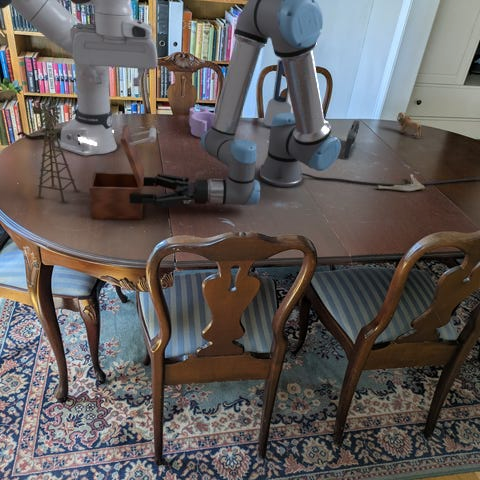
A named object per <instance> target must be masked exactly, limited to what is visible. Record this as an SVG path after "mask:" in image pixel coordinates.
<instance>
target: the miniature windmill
mask: <svg viewBox="0 0 480 480" xmlns="http://www.w3.org/2000/svg"><path fill="white" fill-rule="evenodd" d="M55 98H56V97H55V96H53V95H51V96H50V95H48V98H47V97H45V101H43V104H44V105H41V106H42V107H38V106H35V105H31V107H32V114H33V115H41V119H42V121H41V122H42V124H43V126H44V128H43V129H41V130H39V133H43V134H44V135H45V137H44V138H42V140H43V146H42V148H43V150H42V154H41V157H42V158H41V162H40V164H41V166H40V175H39V177H38V179H39V184H38V185H37V187H38V196H37V197H38V198H41V197H42V188H44V189H49V190H55V191H59V193H60V198H61V202H62V203H63V202H65V197H64V192H63V191H64V190H65V189H66V188H67V187H68V186H70V185H72V187H73V190H74V191H75V192H77V191H78V189H77V186H76V183H75V181H76V180H75V179H74V178H73V176H72V175H73V174H72V173H71V169H70V167H69V166H70V164H69V163H68V161H67V159H66V156H65V154H64V150H63V149H62V148H61V146H60V143H59V140H58V139H59V138H57V135H56V133H58V132H59V131H61V130H62V129H61V127H59V128H58V127H57V128H56V126H57V124H58V123H59V121H58V120H60V116H59V115H60V113H61V111H58V110H60V106H59V102H57V101H58V99H57V98H56V99H55ZM58 106H59V107H58ZM52 134H54V136H53V137H52ZM47 136H48V137H47ZM47 138H49V139H47ZM52 138H53V139H52ZM56 141H57V143H58V146H59V147H58V149H56V148H55V142H56ZM47 146H49V150H46V149H47ZM56 152H58V154H56ZM59 156H61V157H62V159H63V162H58V160H57V158H58V157H59ZM46 157H47V158H46ZM53 159H54V161H53ZM48 160H50V161H49V162H50V163H48V164H47V165H45V162H47V161H48ZM54 164H55V170H54ZM59 165H60V166H61V165H62V166H64V167H62V168H61V169H60V170H59ZM49 166H50V169H46V168H48V167H49ZM64 170H67V172H68V176H69V178H68V177H63V176H60V173H61V172H62V171H64ZM48 173H50V176H49V177H47V178H46V179H45V180H44V181H43V177H44V176H46V175H47V174H48ZM54 173H55V174H56V175H54ZM55 178H56V179H57V181H58V182H57V183H58V187H59V188H57V187H55ZM50 179H51V186H46V185H45V186H44V184H45V183H46V182H47V181H48V180H49V181H50ZM61 179H62V180H67V181H70V182H69V183H67V184H66V185H65V186H63V185H62V182H61ZM62 186H63V187H62Z"/></svg>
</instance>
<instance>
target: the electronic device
mask: <svg viewBox="0 0 480 480" xmlns="http://www.w3.org/2000/svg"><path fill="white" fill-rule="evenodd" d="M276 63H277V64H276V72H275V79H274V87H273V88H274V89H273V95H272V98H271V99H270V100H268V102H267V106H266V111H265V114H264V118H263V125H264V126H265V127H266V128H271V124H272V119H273V117H274V116H275V115H277V114H281V113H293V109H292V104H291V100H290V95H289V91H288V86H287V85H286V91H285V92H286V93H285V97H283V96H281V95H280V94H281V93H280V92H281V85H282V77H283V72H284V68H283V63H282V59H281V58H279V59H278V60H277V62H276Z"/></svg>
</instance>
